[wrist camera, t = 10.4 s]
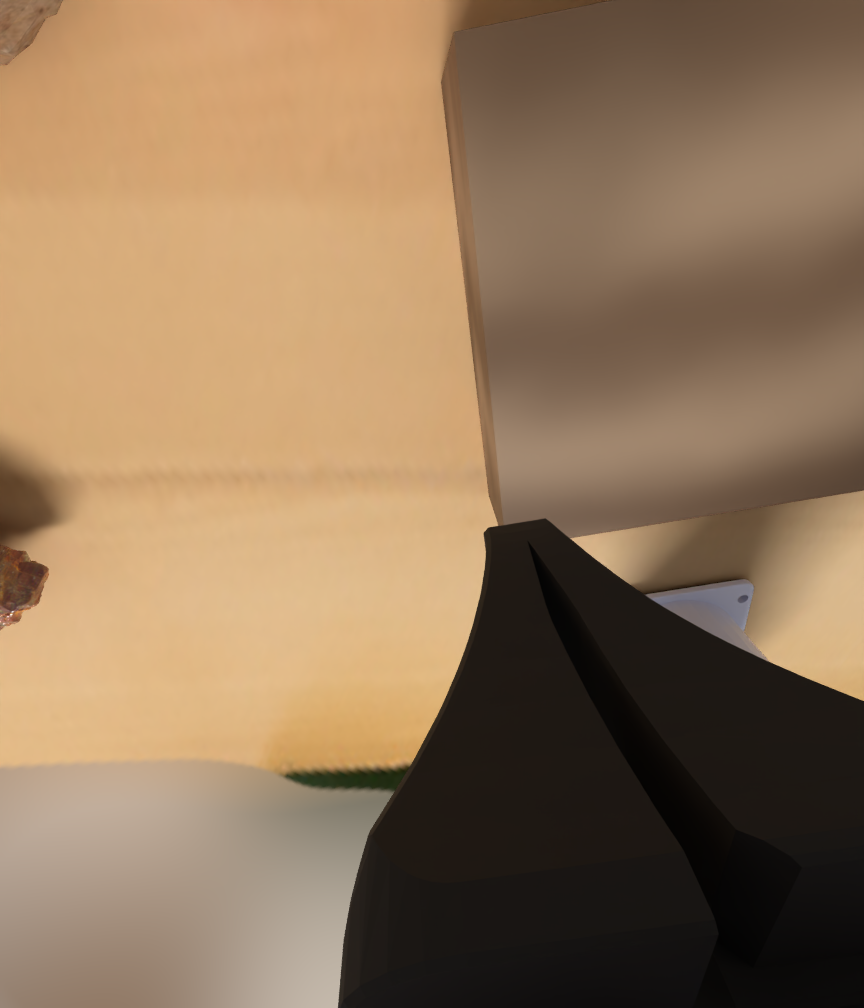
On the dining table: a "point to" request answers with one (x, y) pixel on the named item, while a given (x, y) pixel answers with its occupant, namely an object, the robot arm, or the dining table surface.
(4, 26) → the brown hollow boot figurine
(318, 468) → the dining table surface
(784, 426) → the walnut board
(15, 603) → the mineral specimen
